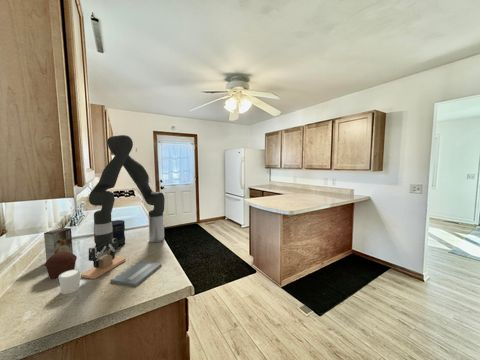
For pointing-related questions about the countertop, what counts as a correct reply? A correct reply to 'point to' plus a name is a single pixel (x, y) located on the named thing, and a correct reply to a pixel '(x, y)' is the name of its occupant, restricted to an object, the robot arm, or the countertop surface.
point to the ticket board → (136, 273)
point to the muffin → (60, 264)
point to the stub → (103, 266)
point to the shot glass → (69, 281)
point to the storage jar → (119, 231)
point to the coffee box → (58, 241)
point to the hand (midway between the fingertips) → (104, 263)
